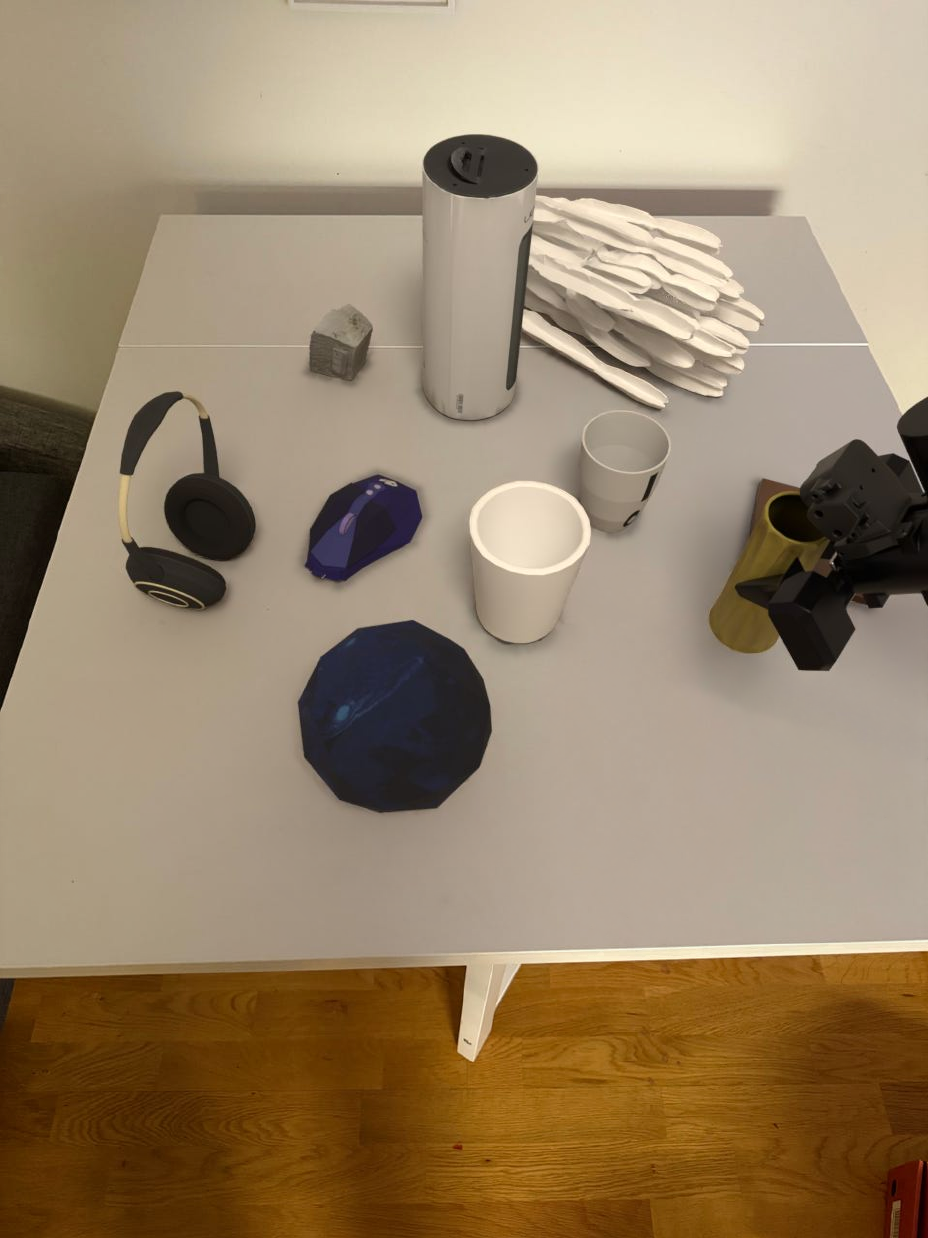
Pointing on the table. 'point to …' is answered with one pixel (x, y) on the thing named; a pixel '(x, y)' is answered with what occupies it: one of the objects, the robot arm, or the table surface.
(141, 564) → the headphones
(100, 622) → the table surface
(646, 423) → the cup
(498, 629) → the cup
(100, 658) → the table surface
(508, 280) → the speaker
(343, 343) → the grey stone block
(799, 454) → the table surface
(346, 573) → the computer mouse
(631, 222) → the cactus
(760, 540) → the vase
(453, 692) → the decorative orb
